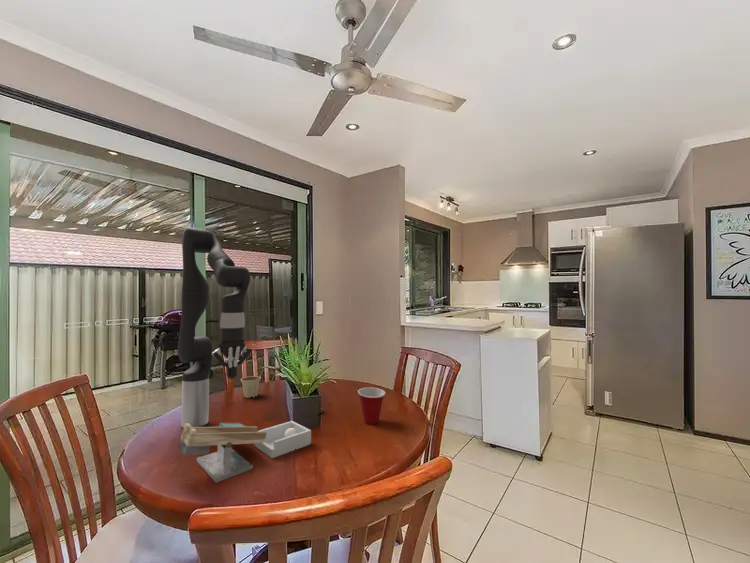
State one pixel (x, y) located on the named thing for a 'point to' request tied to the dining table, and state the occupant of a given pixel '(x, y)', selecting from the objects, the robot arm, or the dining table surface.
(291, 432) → the ball
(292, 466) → the dining table surface
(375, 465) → the dining table surface
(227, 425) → the lever
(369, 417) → the plastic cup
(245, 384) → the flower pot
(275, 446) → the tray
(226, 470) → the lever stand
